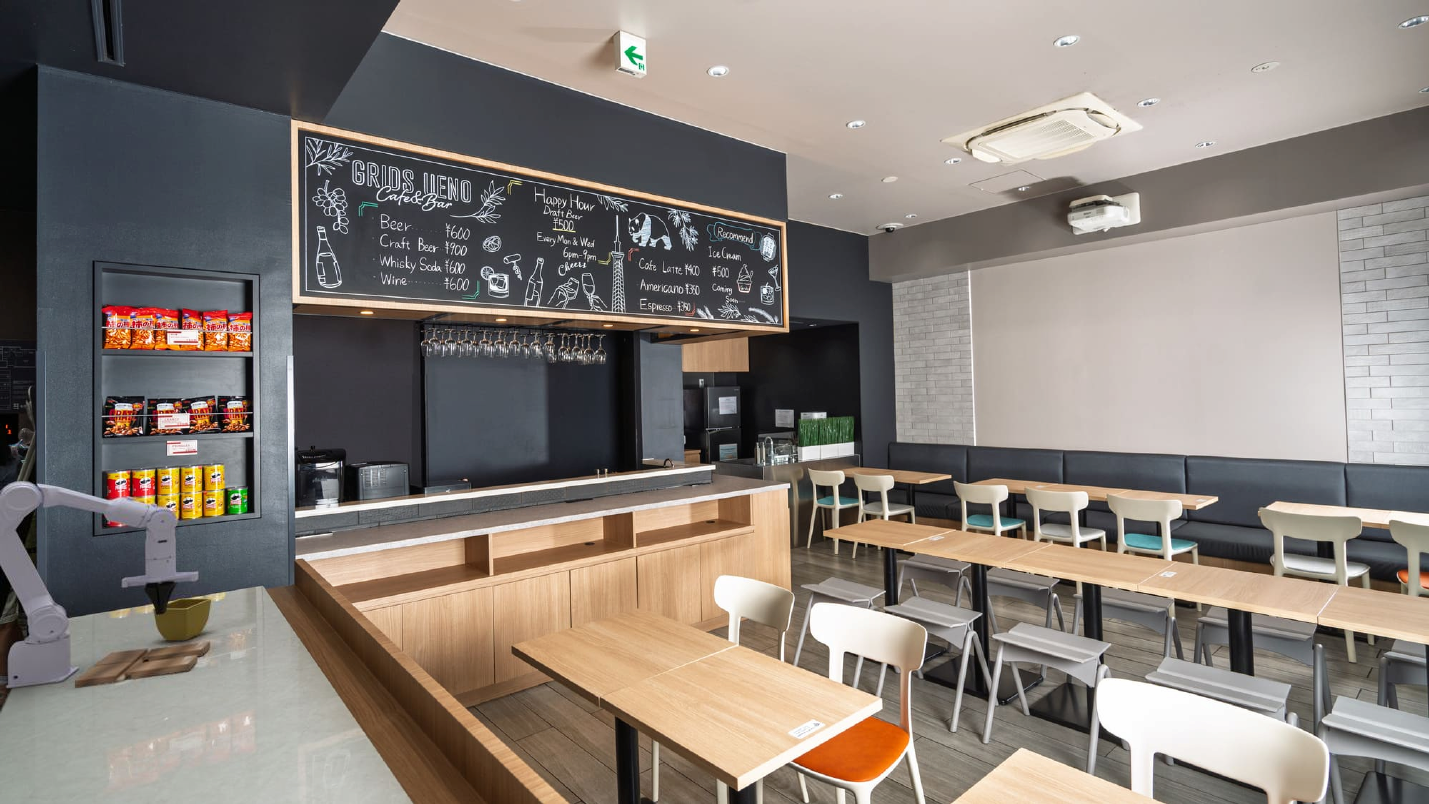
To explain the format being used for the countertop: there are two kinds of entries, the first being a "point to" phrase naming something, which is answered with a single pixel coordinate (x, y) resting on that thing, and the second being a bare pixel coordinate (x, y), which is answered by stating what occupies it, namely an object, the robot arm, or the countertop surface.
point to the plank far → (177, 651)
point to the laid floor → (111, 668)
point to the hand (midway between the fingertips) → (161, 613)
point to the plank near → (161, 667)
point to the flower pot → (183, 618)
